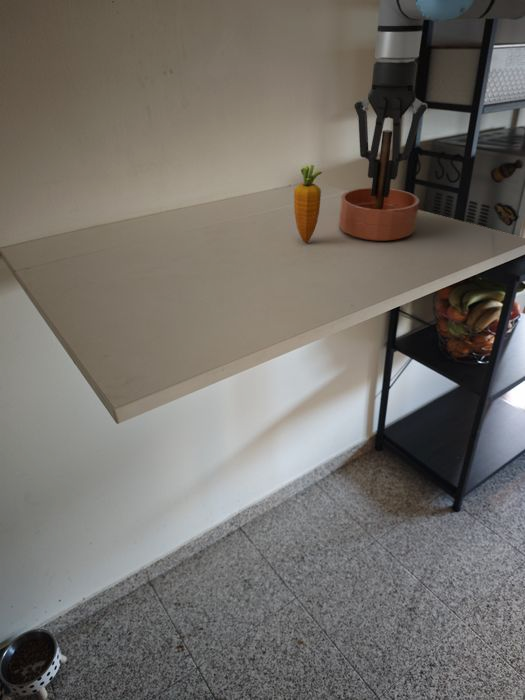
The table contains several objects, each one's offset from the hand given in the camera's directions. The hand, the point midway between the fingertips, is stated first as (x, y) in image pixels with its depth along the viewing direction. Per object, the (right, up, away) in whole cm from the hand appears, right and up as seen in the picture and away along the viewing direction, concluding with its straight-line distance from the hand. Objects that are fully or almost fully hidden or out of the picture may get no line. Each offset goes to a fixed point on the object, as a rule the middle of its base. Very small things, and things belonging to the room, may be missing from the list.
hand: (380, 194), depth 101 cm
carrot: (-15, -10, -2) cm, 19 cm away
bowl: (0, -6, +4) cm, 7 cm away
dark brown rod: (0, -5, +4) cm, 6 cm away
